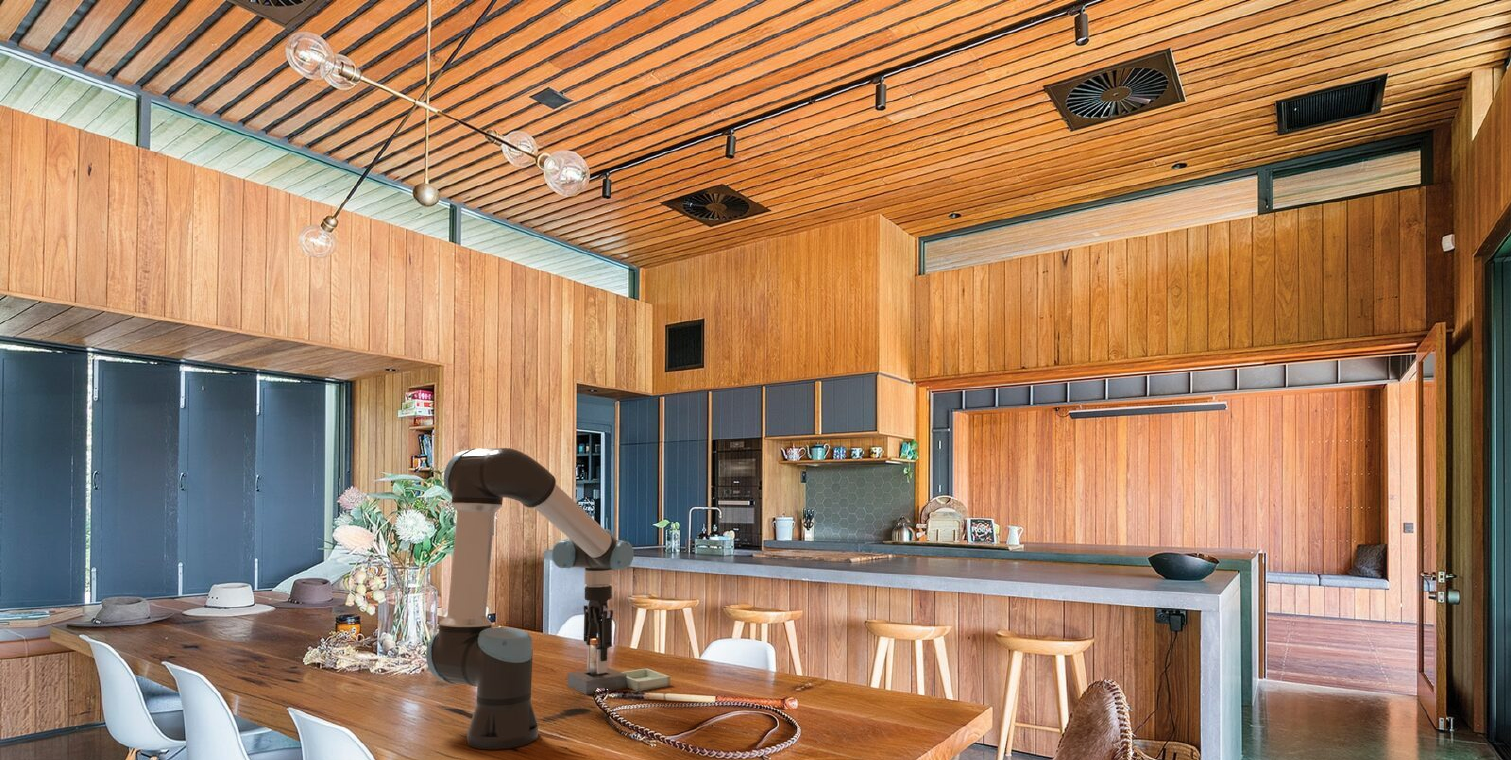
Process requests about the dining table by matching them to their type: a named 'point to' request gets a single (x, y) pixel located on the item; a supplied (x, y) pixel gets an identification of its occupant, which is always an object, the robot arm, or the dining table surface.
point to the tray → (646, 679)
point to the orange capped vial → (594, 657)
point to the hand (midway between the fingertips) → (597, 670)
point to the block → (596, 681)
